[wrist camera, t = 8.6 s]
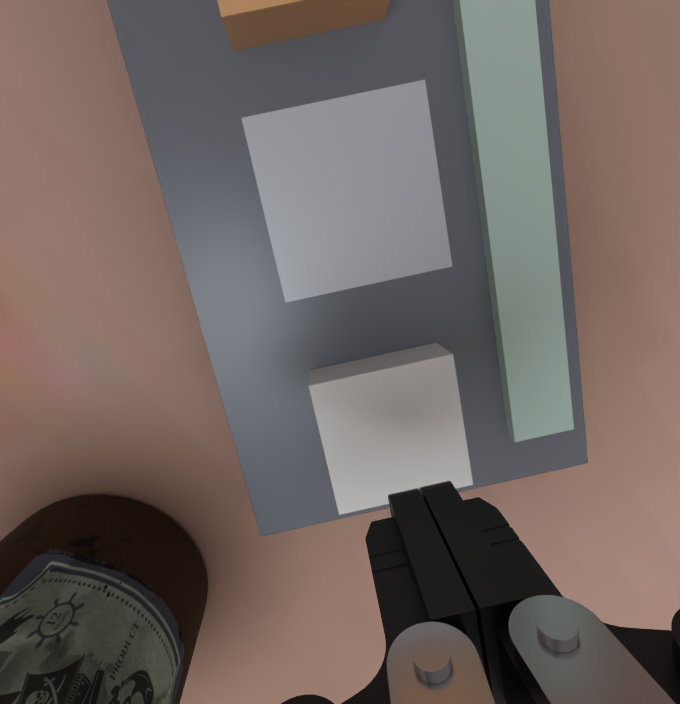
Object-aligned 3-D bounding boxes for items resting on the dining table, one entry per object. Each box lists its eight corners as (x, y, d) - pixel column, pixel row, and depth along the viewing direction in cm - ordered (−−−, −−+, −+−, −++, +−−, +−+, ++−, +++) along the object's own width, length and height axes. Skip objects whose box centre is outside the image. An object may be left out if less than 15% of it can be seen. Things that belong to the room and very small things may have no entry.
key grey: (289, 296, 14) (285, 302, 12) (251, 138, 13) (241, 117, 11) (433, 265, 14) (452, 266, 13) (408, 105, 13) (425, 79, 11)
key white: (336, 486, 17) (339, 514, 16) (308, 370, 16) (308, 385, 14) (455, 459, 18) (473, 484, 16) (436, 342, 16) (453, 354, 14)
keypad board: (266, 508, 20) (259, 546, 17) (91, -116, 14) (43, -197, 12) (560, 442, 20) (596, 469, 17) (497, -197, 15) (537, -293, 12)
